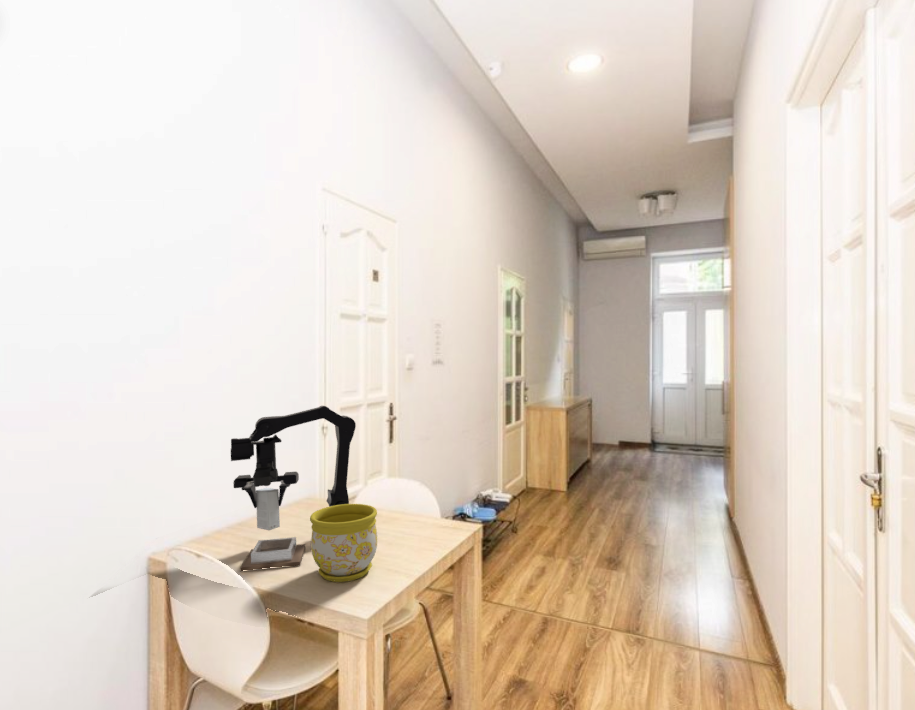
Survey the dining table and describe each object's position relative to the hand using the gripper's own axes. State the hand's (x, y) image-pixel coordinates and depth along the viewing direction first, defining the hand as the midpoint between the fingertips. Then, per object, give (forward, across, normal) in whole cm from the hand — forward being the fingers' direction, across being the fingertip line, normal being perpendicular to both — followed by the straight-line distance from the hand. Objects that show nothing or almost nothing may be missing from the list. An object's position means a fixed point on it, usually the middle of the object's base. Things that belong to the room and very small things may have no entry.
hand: (267, 506), depth 161 cm
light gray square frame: (+12, +4, -10) cm, 16 cm away
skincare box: (+7, 0, 0) cm, 7 cm away
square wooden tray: (+13, +4, -10) cm, 17 cm away
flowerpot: (+13, +25, -25) cm, 38 cm away
